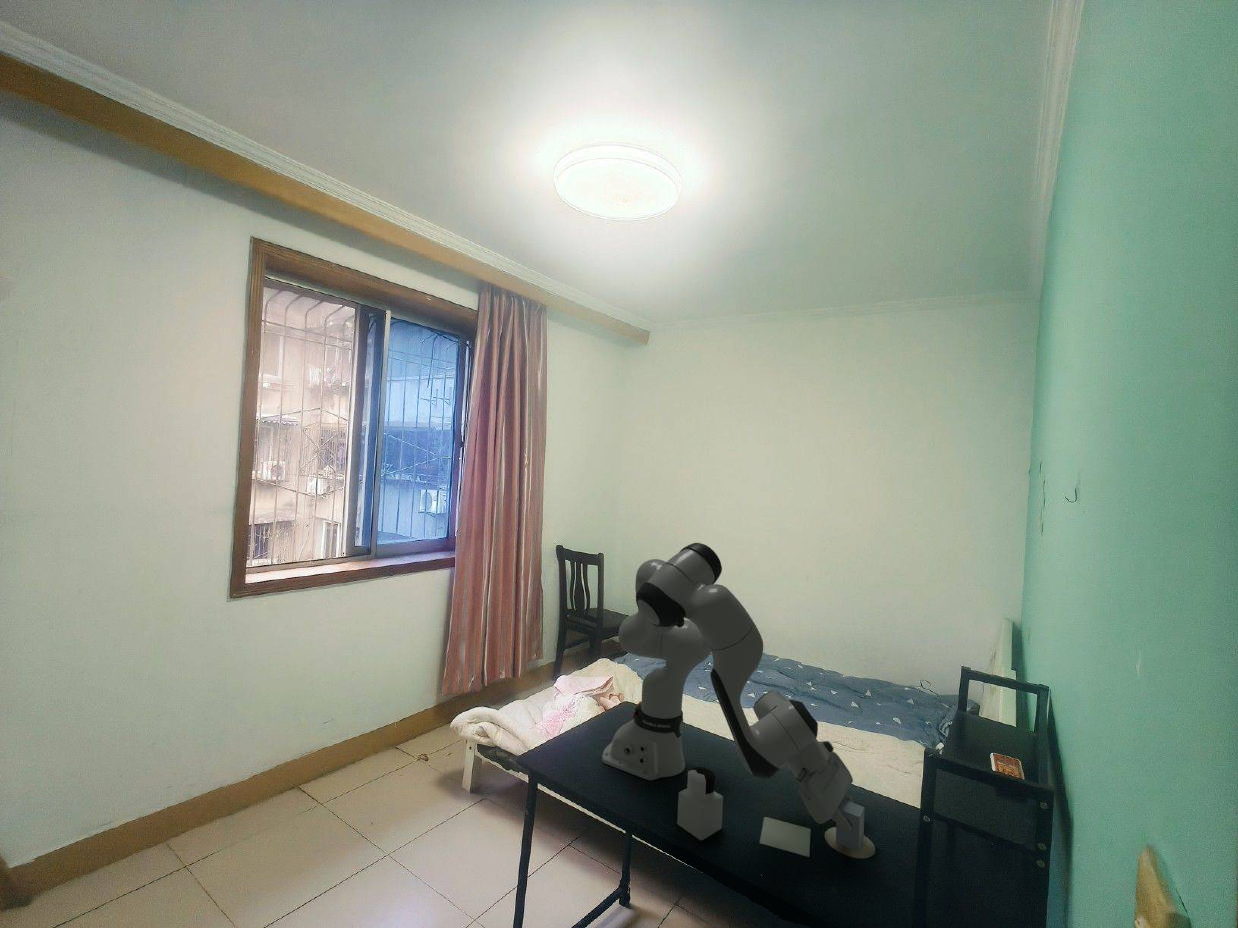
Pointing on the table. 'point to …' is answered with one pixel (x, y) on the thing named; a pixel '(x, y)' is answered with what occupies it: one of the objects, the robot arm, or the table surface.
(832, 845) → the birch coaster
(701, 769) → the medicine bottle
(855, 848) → the grey block
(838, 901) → the table surface
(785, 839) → the sage mat
